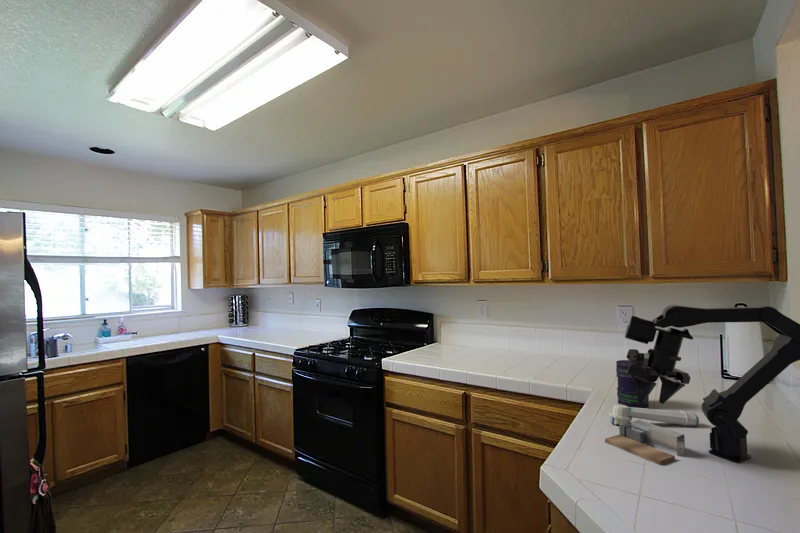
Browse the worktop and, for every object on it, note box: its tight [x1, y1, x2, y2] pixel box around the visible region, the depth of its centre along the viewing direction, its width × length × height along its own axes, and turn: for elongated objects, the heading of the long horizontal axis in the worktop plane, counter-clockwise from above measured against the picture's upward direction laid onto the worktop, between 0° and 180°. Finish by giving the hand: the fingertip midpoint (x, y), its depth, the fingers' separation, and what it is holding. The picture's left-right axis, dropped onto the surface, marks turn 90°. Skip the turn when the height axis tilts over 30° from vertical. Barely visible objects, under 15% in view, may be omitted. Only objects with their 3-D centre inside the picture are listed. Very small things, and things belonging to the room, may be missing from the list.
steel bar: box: [630, 419, 686, 457], centre depth 105 cm, size 12×4×5 cm, turn 26°
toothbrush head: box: [608, 403, 700, 427], centre depth 120 cm, size 5×7×25 cm
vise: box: [618, 422, 646, 445], centre depth 110 cm, size 6×9×4 cm
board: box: [604, 434, 676, 466], centre depth 103 cm, size 15×6×1 cm, turn 25°
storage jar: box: [615, 359, 650, 409], centre depth 140 cm, size 10×10×15 cm
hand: (650, 402), depth 107 cm, fingers open, 9 cm apart
